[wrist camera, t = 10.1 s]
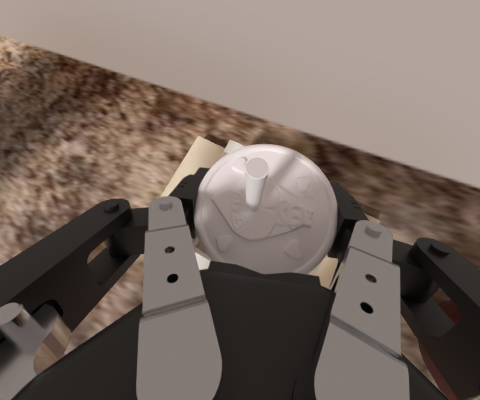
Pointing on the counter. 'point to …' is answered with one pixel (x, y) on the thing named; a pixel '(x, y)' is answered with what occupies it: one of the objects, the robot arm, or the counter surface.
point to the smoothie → (266, 210)
